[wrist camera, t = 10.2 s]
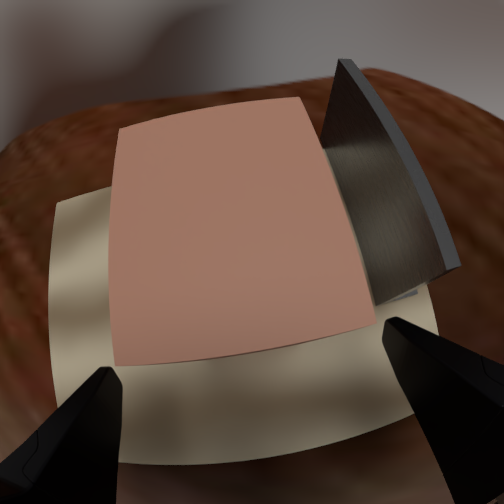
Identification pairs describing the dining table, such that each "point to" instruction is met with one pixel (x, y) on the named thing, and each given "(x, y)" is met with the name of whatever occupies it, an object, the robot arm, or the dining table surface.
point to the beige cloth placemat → (217, 367)
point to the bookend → (384, 191)
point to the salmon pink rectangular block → (228, 237)
